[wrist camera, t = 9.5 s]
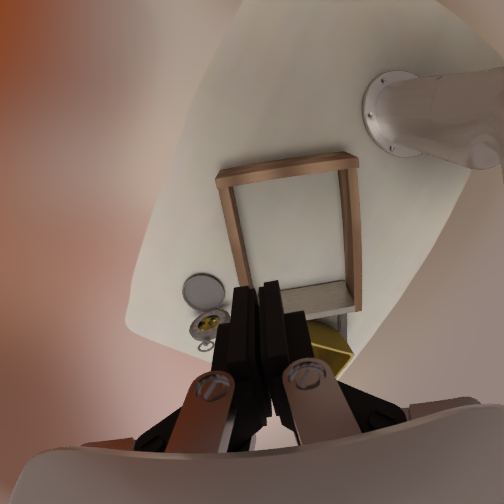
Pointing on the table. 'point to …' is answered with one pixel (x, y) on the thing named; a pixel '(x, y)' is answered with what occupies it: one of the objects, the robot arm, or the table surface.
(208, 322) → the pocket watch
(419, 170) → the table surface
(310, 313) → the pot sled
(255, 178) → the frame
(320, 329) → the flower pot
